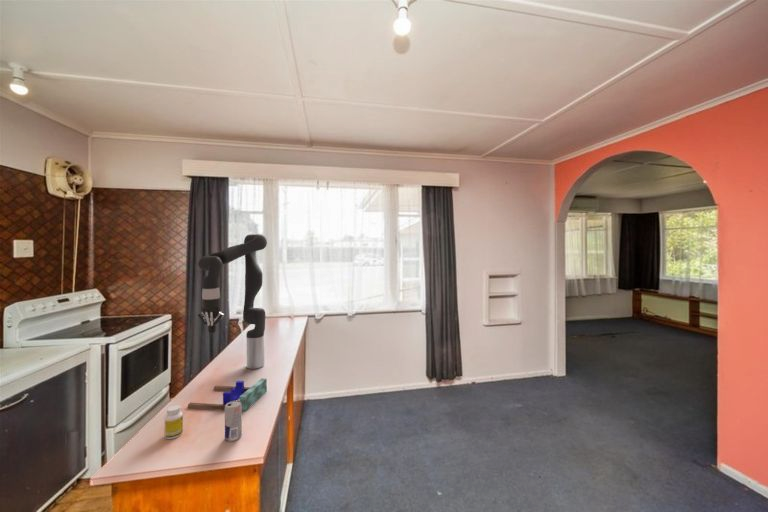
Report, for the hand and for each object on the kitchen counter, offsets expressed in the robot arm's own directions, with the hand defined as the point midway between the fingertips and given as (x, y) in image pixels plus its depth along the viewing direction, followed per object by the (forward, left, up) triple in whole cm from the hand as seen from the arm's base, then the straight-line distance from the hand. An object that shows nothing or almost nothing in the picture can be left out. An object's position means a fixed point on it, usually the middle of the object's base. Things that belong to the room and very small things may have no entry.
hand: (212, 332), depth 148 cm
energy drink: (+37, +34, -26) cm, 57 cm away
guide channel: (+11, +15, -26) cm, 32 cm away
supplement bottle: (+38, +12, -26) cm, 48 cm away
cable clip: (+12, +18, -27) cm, 34 cm away
